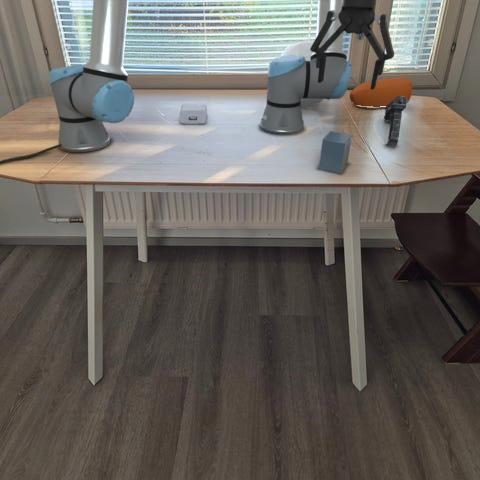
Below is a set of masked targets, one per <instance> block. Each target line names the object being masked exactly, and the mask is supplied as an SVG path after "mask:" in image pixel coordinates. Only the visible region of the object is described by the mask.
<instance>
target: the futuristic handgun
mask: <svg viewBox="0 0 480 480" xmlns="http://www.w3.org/2000/svg"><path fill="white" fill-rule="evenodd" d="M407 105H408V103H407V99H406V98H405V97H403V96H397V97H396V98H394V99H393V100H392V101H391V102H390V103H389V104H388V105H387V106H386V108H385V110H384V115H383V121H385V122H389V124H390V125H389V132H388V137H387V141H386V142H387V143H386V146H395V147H396V146H398V142H399V137H400V129H401V124H402V116H403V112H404V110H406V109H407ZM384 119H385V120H384ZM386 120H388V121H386Z"/></svg>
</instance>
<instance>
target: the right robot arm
mask: <svg viewBox="0 0 480 480" xmlns="http://www.w3.org/2000/svg"><path fill="white" fill-rule="evenodd" d="M317 3H318V4H317V18H316V19H317V20H316V37H315V39H314V41H313V42H314V43H313V44H312V46H311V48H310V50H311V51H312V52H314V53H313V54H312V55H311V58H310V61H305V57H304V56H302V55H288V56H282V57H279V56H278V57H275V58H273V59H272V60H270V61H269V63H268V70H267V71H268V72H267V88H266V89H267V92H266V106H265V109H264V111H263V113H262V117H261V119H260V123H259V124H260V125H259V126H260V127H259V128H260V129H261V130H262V131H263V132H266V133H268V134H273V135H278V136H290V135H297V134H299V133H301V132H303V131H304V127H305V122H304V119H303V112H302V107H300V105H301V99H302V98H306V99H323V100H328V101H329V100H339V99H341V98H343V97H344V95H345V94H346V92H347V90H348V87H349V84H350V79H351V76H352V75H351V74H352V62H351V61H348V60H347V53H346V52H345V51H344V50H343V46H344V45H343V44H344V32H345V33H346V34H349V35H350V34H355V35H362V34H363V35H364V36H365V38H366V39H367V41H368V43H369V44H370V46H371V48H372V49H373V52H374V53H375V55H376V56H377V57H376V58H378V59H376V60H375V63H374V68H373V72H372V78H371V81H372V83H371V88H370V89H374V88H375V87H376V81H377V80H378V77H379V76H381V75H382V74H383V73H384V69H385V63H386V61H388V60H391V59H393V58H394V57H395V51H394V46H393V42H392V39H391V34H390V31H389V27H388V13H387V12H385V13H383V14H376V13H375V9H376V4H377V0H318V2H317ZM374 21H376V25H378V26H379V30H380V33H381V38H382V41H383V45H384V49H385V51H384V49H383V48H382V46H381V44H380V43H379V40H378V39H377V37H376V35H375V33H374V31H373V29H372V27H371V25H372V24H374ZM385 52H386V53H385Z"/></svg>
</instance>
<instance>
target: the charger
mask: <svg viewBox="0 0 480 480" xmlns="http://www.w3.org/2000/svg"><path fill="white" fill-rule="evenodd" d="M207 114H208V111H207V104H206V103H204V102H202V103H201V102H190V103H189V102H184V103H182V104H181V106H180V110H179V123H181V124H184V125H186V124H187V125H194V124H195V125H199V124H200V125H202V124H205V123H206V122H207V116H208V115H207Z"/></svg>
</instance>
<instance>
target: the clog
mask: <svg viewBox="0 0 480 480" xmlns="http://www.w3.org/2000/svg"><path fill="white" fill-rule="evenodd" d="M371 83H372V80H370V81H366V82H365V81H364V82H361V83H360V84H358V85H357V86H356V87H355V88H353V89H352V90H351V91H350V92H349V100H350V103H352V102H353V103H352V104H353V105H354V104H355V105H354V106H356V105H361V106H373V107H380V106H387V105H388V104H389V103H390V102H391V101H392V100H393V99H394V98H396V97H397V96H403V97H405V98H406V99H407V104H408V103H409V102H410V100H411V97H412V93H413V85H412V81H411V80H410V78H407V77H391V78H383V79H382V78H381V79H377V81H376V87H375V88H374V89H370V88H371ZM357 108H361V109H363V110H364V109H365V110H373V109H374V110H375V109H377V108H367V107H359V106H357ZM383 109H386V107H384V108H383Z"/></svg>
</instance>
